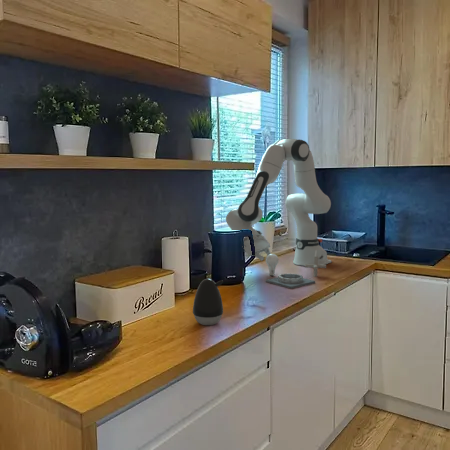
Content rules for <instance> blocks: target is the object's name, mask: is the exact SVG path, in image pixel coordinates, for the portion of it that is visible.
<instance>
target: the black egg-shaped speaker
mask: <svg viewBox="0 0 450 450" xmlns="http://www.w3.org/2000/svg"><path fill="white" fill-rule="evenodd" d="M223 283H224V280H222V279H221V280H219V281H217V282H215V281H214V280H213V279H211V278H204V279H203V280H202V281H201V282H200V284H199V285H198V287H197V289H196V293H195V296H194V299H193V304H192V305H193V307H192V314H193V316H194V319H195V320H196V322H197V323H198V324H200V325H203V326H213V325H215V324H218V323H219V322H220V320H221V319H222V316H223V313H224V305H223V301H222V300H223V299H222V296H221V295H222V294H221V293H220V290H219V286H221V285H222V284H223Z"/></svg>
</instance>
